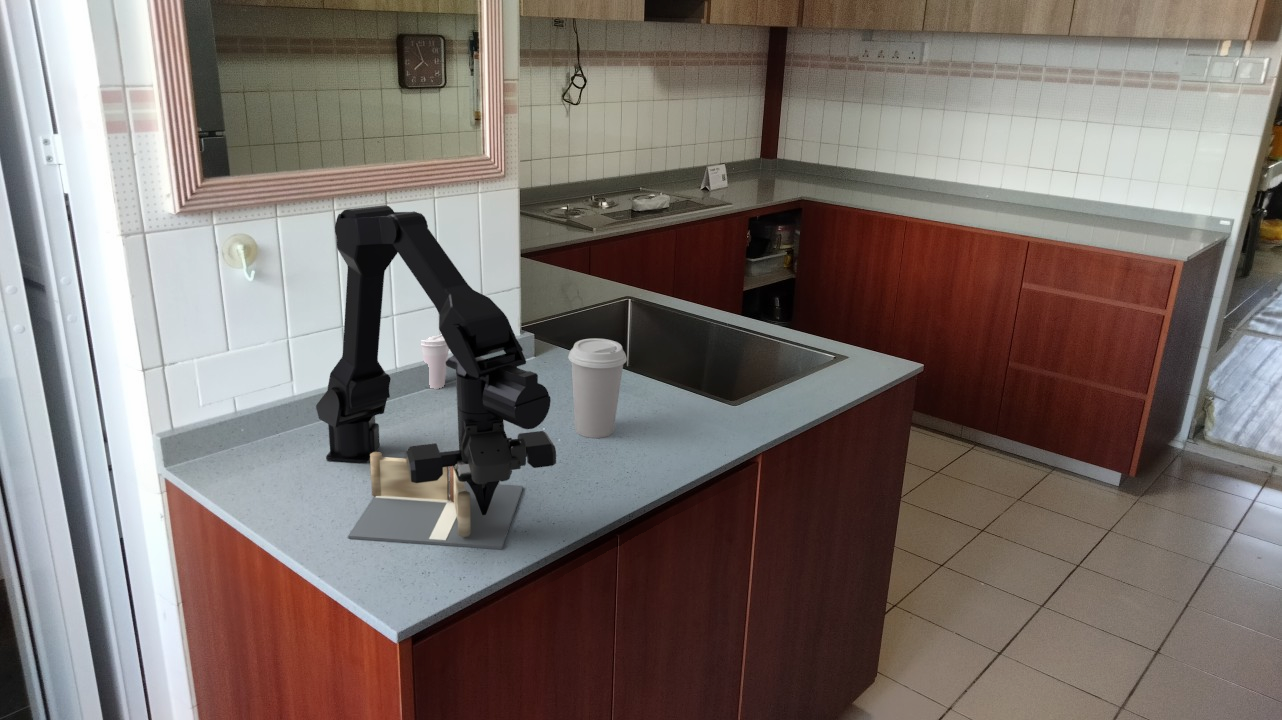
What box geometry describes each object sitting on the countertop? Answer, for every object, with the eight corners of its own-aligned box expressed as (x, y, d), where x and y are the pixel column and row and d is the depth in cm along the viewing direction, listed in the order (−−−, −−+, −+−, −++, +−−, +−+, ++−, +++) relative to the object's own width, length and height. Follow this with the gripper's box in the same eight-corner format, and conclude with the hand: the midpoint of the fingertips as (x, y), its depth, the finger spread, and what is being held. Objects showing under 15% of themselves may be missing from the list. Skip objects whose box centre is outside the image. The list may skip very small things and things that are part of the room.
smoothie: (454, 380, 176) (453, 308, 171) (449, 392, 170) (447, 319, 165) (420, 378, 175) (418, 307, 170) (413, 391, 169) (411, 317, 164)
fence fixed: (370, 496, 131) (368, 452, 129) (374, 490, 133) (372, 447, 130) (461, 503, 131) (461, 459, 128) (464, 497, 132) (464, 453, 130)
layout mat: (348, 538, 121) (348, 535, 121) (387, 478, 137) (387, 475, 137) (501, 549, 121) (501, 546, 120) (522, 488, 137) (523, 485, 136)
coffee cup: (576, 444, 152) (579, 358, 147) (558, 421, 160) (561, 338, 155) (631, 438, 155) (636, 353, 150) (611, 416, 164) (615, 335, 158)
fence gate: (451, 500, 130) (451, 463, 128) (463, 499, 130) (463, 462, 128) (458, 537, 121) (458, 497, 119) (471, 536, 121) (470, 496, 119)
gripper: (413, 439, 109) (420, 555, 114) (567, 421, 115) (567, 532, 121) (402, 404, 119) (409, 513, 124) (545, 389, 125) (545, 494, 130)
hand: (483, 513), depth 125 cm, fingers closed
